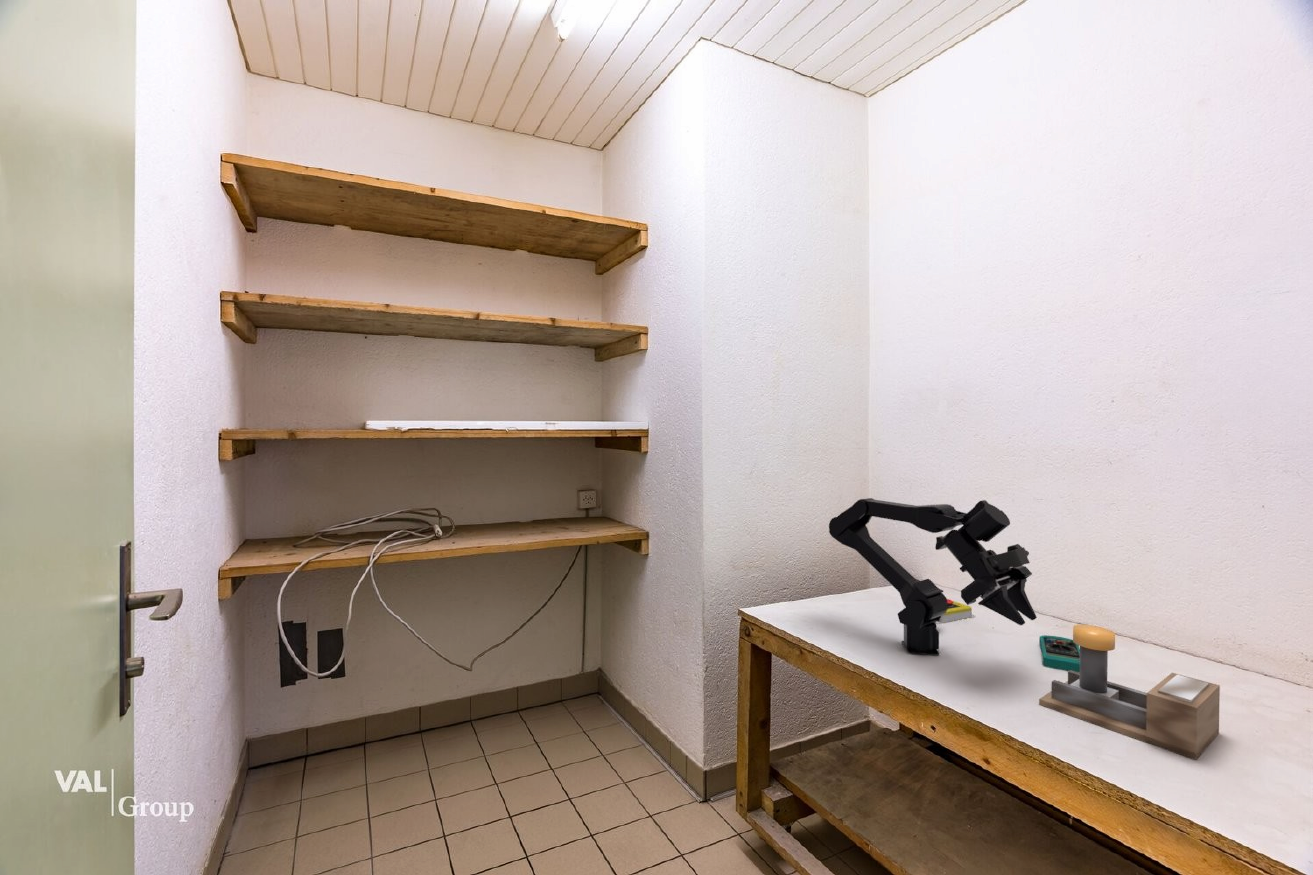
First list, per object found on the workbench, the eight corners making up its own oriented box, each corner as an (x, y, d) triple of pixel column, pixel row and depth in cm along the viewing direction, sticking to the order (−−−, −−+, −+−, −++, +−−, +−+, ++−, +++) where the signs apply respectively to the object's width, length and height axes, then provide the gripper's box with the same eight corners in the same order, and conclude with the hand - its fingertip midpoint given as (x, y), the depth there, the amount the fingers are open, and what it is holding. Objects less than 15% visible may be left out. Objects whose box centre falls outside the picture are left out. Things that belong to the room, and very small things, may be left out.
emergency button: (977, 602, 152) (935, 609, 147) (977, 618, 153) (935, 626, 147) (948, 592, 161) (907, 599, 155) (948, 608, 161) (907, 615, 155)
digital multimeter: (1077, 651, 130) (1078, 638, 130) (1086, 676, 118) (1086, 661, 118) (1039, 645, 134) (1039, 632, 134) (1042, 668, 122) (1043, 654, 121)
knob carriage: (1066, 699, 105) (1067, 629, 104) (1080, 690, 108) (1080, 622, 108) (1106, 713, 100) (1107, 639, 99) (1119, 703, 103) (1120, 631, 103)
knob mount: (1039, 704, 105) (1039, 658, 105) (1068, 685, 113) (1069, 642, 112) (1196, 760, 88) (1197, 705, 87) (1218, 733, 95) (1219, 682, 95)
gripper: (977, 537, 111) (1040, 609, 102) (1021, 526, 122) (1082, 591, 113) (937, 569, 118) (993, 639, 109) (982, 557, 128) (1037, 620, 119)
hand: (1029, 621), depth 112 cm, fingers open, 5 cm apart
